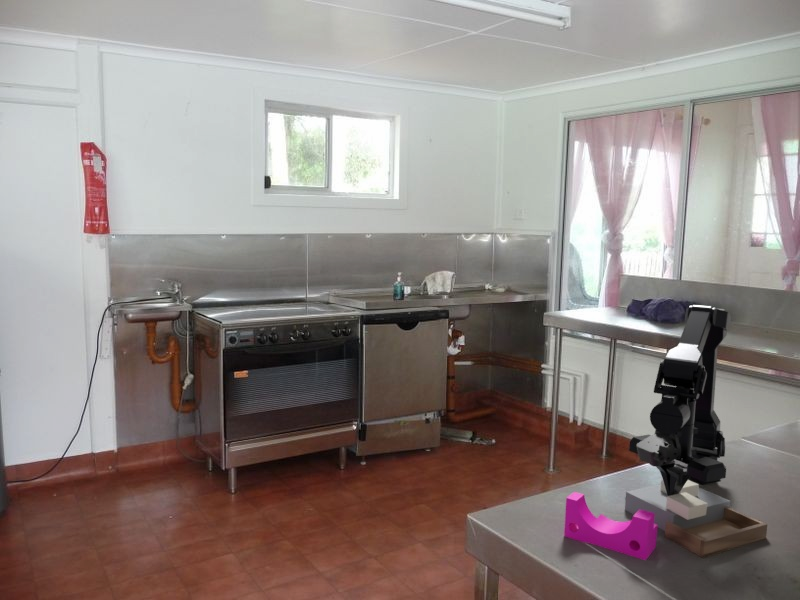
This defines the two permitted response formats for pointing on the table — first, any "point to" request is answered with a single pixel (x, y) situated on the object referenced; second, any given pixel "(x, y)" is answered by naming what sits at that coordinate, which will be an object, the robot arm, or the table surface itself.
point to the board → (656, 503)
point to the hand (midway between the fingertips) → (671, 499)
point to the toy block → (610, 529)
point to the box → (718, 533)
